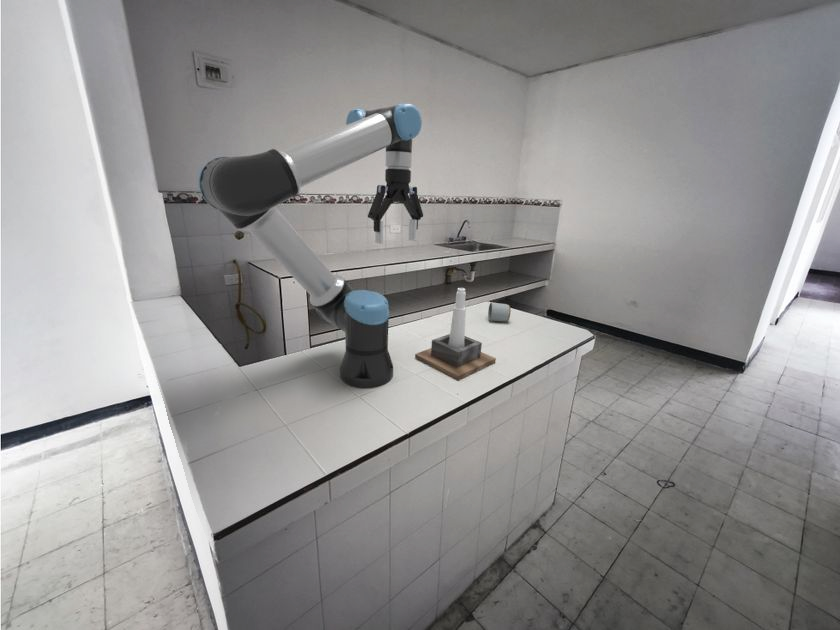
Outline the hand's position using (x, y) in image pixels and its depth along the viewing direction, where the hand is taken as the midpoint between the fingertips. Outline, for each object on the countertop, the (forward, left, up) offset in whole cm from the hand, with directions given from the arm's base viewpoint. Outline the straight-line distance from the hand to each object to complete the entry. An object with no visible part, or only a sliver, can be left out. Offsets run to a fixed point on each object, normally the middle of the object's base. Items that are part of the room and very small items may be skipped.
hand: (396, 241), depth 115 cm
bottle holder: (+7, -22, -35) cm, 42 cm away
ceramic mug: (+50, -8, -35) cm, 62 cm away
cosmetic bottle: (+7, -22, -33) cm, 41 cm away
